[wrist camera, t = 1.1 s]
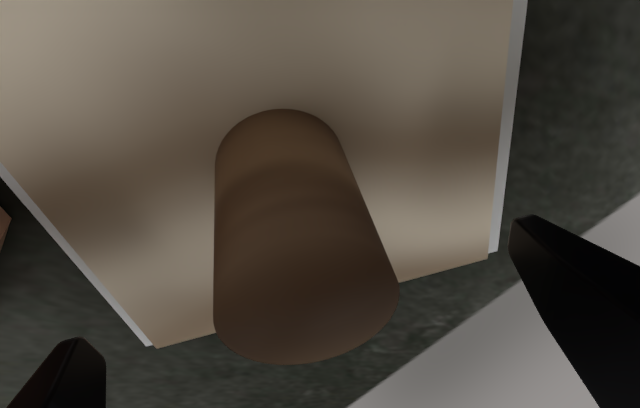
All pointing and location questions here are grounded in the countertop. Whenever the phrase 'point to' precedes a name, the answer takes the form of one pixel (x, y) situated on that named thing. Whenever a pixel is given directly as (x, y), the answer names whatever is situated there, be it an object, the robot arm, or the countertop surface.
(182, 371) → the countertop surface
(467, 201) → the board
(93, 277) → the mat
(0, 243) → the octagonal clay planter
